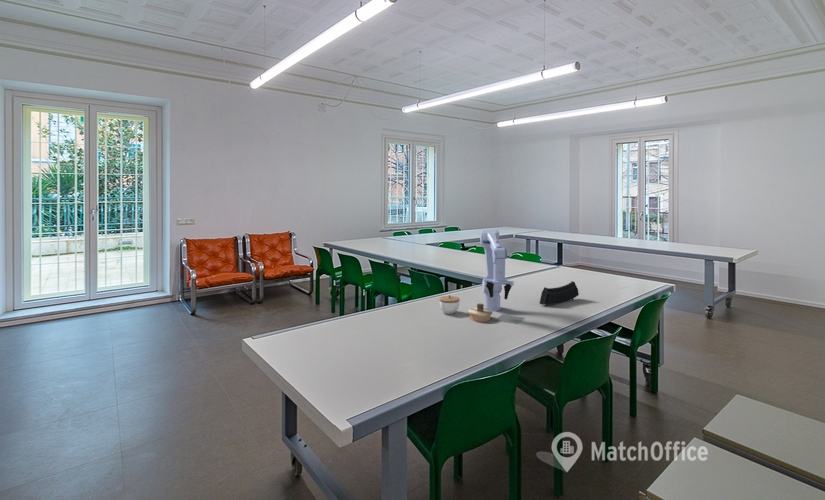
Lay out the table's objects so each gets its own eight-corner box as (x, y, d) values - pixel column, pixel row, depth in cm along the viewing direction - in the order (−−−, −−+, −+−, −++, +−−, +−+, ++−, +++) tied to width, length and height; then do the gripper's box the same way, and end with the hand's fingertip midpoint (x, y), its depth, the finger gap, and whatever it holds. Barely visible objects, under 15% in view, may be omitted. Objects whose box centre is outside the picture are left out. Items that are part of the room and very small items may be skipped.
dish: (475, 315, 223) (475, 308, 223) (493, 318, 218) (493, 311, 217) (466, 320, 215) (466, 313, 214) (485, 323, 209) (485, 316, 209)
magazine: (541, 291, 236) (575, 270, 250) (536, 290, 239) (570, 270, 253) (546, 319, 241) (579, 297, 255) (541, 317, 244) (575, 296, 258)
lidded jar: (463, 313, 228) (463, 295, 226) (447, 316, 222) (447, 298, 220) (450, 308, 236) (450, 292, 235) (435, 311, 230) (435, 294, 229)
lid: (474, 308, 224) (474, 300, 224) (495, 311, 218) (496, 303, 217) (464, 313, 214) (464, 305, 214) (486, 317, 208) (486, 308, 207)
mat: (502, 315, 223) (502, 314, 223) (525, 318, 217) (525, 317, 217) (493, 320, 213) (493, 320, 213) (517, 324, 207) (517, 324, 207)
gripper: (482, 271, 216) (482, 297, 217) (510, 274, 208) (509, 301, 210) (488, 269, 222) (487, 295, 223) (515, 272, 214) (514, 298, 216)
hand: (498, 298), depth 217 cm, fingers open, 7 cm apart
